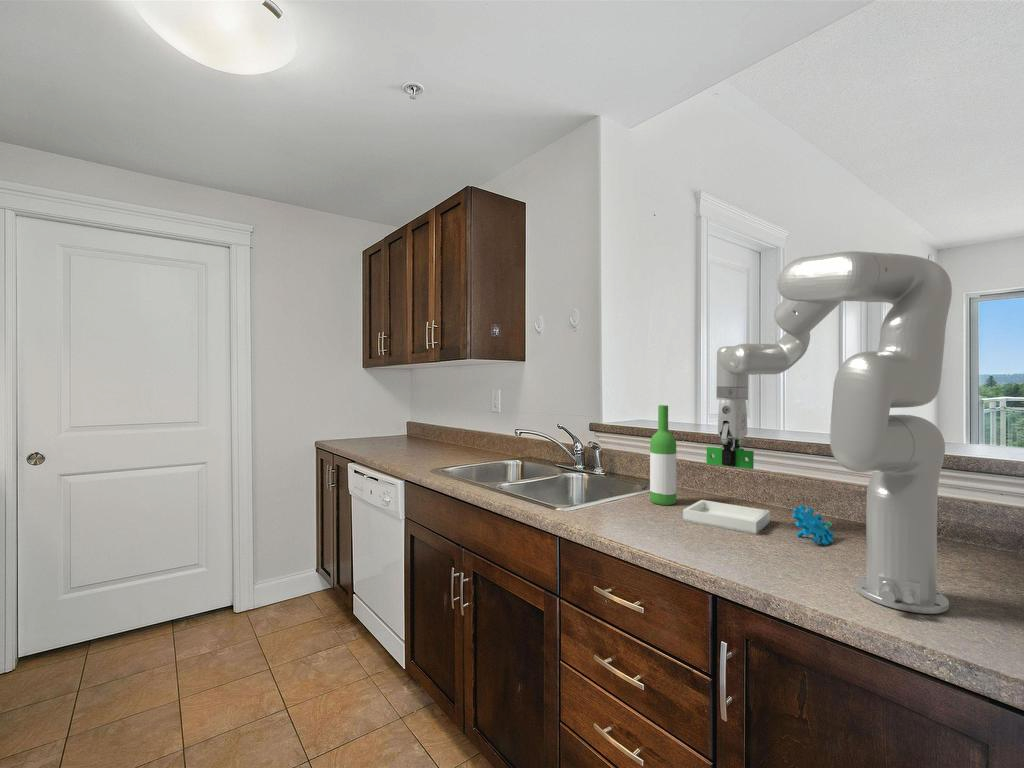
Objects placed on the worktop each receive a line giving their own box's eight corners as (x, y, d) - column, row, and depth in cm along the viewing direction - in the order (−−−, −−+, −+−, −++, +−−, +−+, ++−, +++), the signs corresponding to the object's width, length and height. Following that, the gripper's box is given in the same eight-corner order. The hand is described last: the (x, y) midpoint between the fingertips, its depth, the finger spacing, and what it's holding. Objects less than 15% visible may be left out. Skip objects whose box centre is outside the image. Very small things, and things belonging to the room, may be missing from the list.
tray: (756, 534, 118) (756, 522, 118) (683, 520, 129) (683, 509, 129) (770, 521, 128) (770, 510, 128) (701, 510, 140) (701, 499, 140)
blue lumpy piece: (812, 542, 107) (788, 502, 114) (794, 554, 111) (771, 515, 118) (848, 543, 111) (822, 505, 118) (828, 555, 115) (805, 517, 122)
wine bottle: (655, 498, 154) (655, 404, 154) (679, 501, 149) (679, 405, 149) (646, 503, 148) (646, 405, 147) (671, 507, 143) (671, 406, 143)
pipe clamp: (756, 467, 123) (756, 449, 123) (752, 469, 120) (752, 451, 120) (710, 462, 130) (711, 445, 130) (706, 463, 128) (706, 446, 127)
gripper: (738, 395, 116) (737, 471, 117) (756, 393, 129) (755, 461, 129) (706, 394, 121) (705, 467, 121) (726, 392, 134) (725, 458, 134)
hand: (731, 463), depth 125 cm, fingers closed on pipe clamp, 3 cm apart
